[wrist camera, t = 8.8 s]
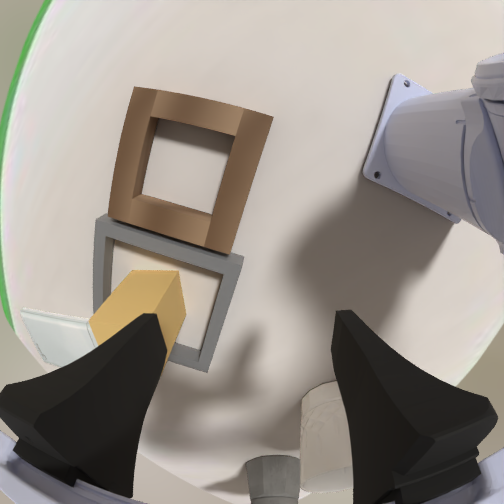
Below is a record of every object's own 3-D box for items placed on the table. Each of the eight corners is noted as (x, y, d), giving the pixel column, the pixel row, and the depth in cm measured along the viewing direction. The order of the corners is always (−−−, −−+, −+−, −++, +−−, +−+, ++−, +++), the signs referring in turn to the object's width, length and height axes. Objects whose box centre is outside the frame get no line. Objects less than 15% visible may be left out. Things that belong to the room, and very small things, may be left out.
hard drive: (44, 363, 26) (119, 384, 25) (18, 311, 23) (94, 326, 22) (50, 355, 28) (124, 374, 27) (26, 304, 24) (101, 316, 24)
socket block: (273, 118, 16) (273, 116, 15) (232, 246, 19) (229, 254, 18) (143, 89, 15) (134, 86, 14) (117, 210, 19) (107, 216, 17)
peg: (178, 270, 21) (144, 327, 14) (186, 314, 22) (160, 376, 16) (132, 270, 21) (88, 321, 14) (142, 311, 22) (108, 367, 16)
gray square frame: (244, 256, 20) (242, 265, 18) (210, 361, 24) (207, 372, 23) (105, 213, 19) (95, 219, 18) (101, 322, 23) (94, 331, 22)
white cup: (296, 379, 25) (302, 471, 15) (374, 371, 24) (401, 454, 15) (294, 421, 28) (297, 496, 18) (360, 413, 27) (375, 484, 18)
